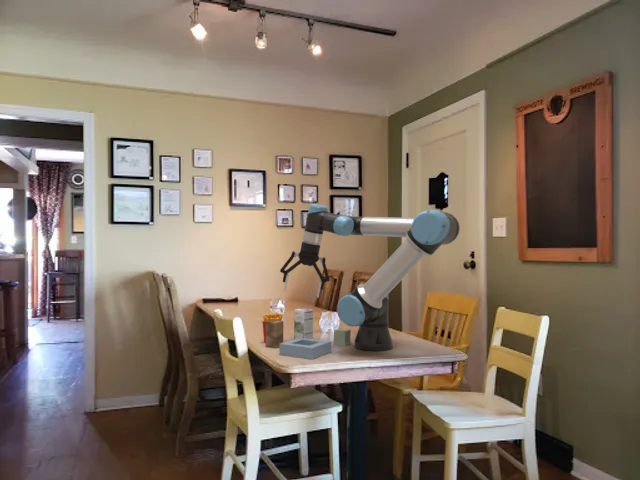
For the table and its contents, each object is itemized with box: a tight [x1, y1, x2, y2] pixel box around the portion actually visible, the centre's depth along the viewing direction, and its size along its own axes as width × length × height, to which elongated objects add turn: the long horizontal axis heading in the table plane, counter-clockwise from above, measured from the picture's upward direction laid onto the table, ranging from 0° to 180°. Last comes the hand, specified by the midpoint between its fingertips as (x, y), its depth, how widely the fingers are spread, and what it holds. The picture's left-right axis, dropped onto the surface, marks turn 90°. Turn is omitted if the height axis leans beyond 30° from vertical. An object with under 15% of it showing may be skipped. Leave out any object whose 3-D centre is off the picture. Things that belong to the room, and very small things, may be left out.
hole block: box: [278, 338, 332, 360], centre depth 180 cm, size 14×14×4 cm
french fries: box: [261, 312, 284, 344], centre depth 201 cm, size 8×4×12 cm, turn 119°
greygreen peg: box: [333, 328, 352, 347], centre depth 197 cm, size 5×5×6 cm
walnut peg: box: [265, 320, 284, 349], centre depth 192 cm, size 5×5×10 cm
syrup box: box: [293, 307, 314, 340], centre depth 196 cm, size 6×6×14 cm
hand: (301, 293), depth 196 cm, fingers open, 13 cm apart
